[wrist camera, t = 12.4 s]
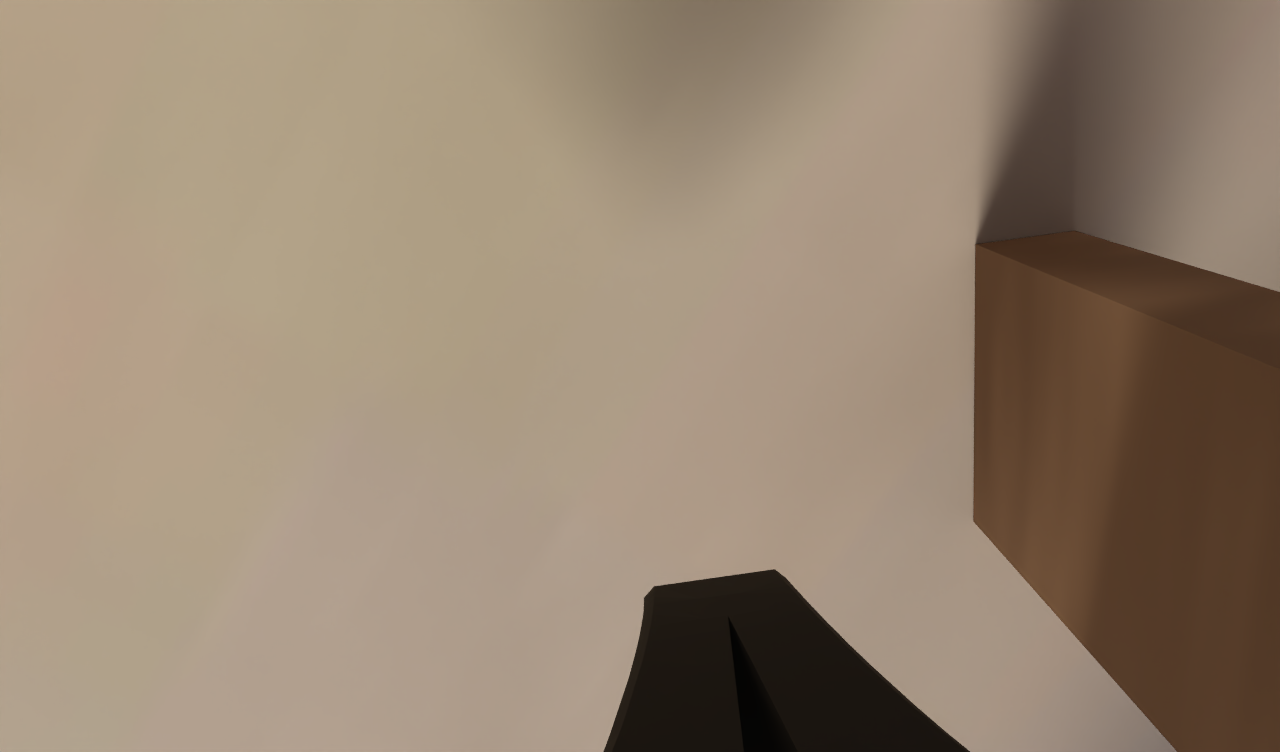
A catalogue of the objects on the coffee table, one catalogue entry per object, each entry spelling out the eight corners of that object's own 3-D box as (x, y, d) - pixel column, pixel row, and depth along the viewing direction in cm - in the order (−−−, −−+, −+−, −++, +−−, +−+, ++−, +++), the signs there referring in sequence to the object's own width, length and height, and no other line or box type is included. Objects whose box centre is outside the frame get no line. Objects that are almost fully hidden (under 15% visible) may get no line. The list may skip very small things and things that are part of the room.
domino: (1074, 230, 13) (1699, 419, 6) (1061, 508, 15) (1536, 932, 8) (975, 244, 13) (1475, 449, 6) (973, 521, 15) (1362, 959, 8)
